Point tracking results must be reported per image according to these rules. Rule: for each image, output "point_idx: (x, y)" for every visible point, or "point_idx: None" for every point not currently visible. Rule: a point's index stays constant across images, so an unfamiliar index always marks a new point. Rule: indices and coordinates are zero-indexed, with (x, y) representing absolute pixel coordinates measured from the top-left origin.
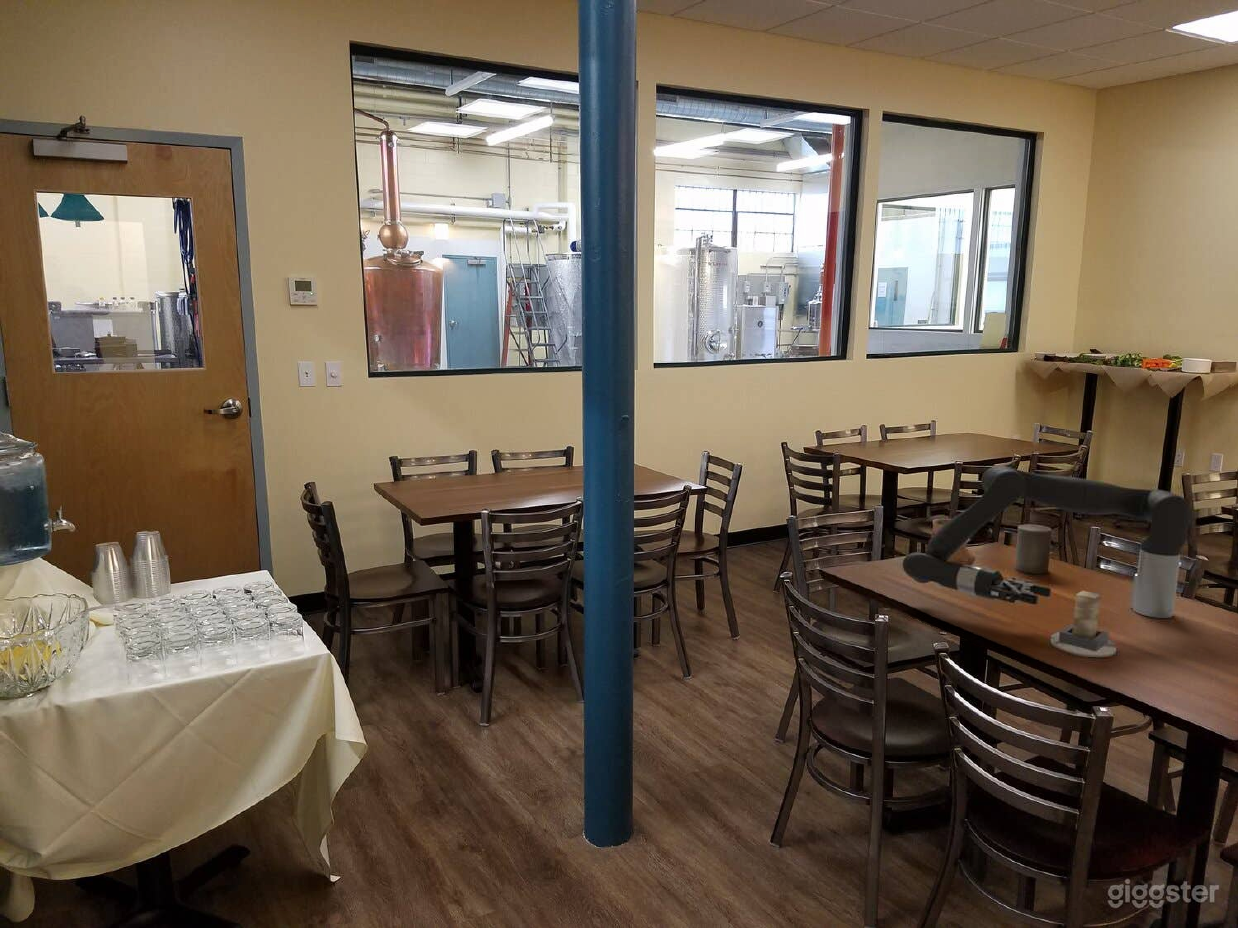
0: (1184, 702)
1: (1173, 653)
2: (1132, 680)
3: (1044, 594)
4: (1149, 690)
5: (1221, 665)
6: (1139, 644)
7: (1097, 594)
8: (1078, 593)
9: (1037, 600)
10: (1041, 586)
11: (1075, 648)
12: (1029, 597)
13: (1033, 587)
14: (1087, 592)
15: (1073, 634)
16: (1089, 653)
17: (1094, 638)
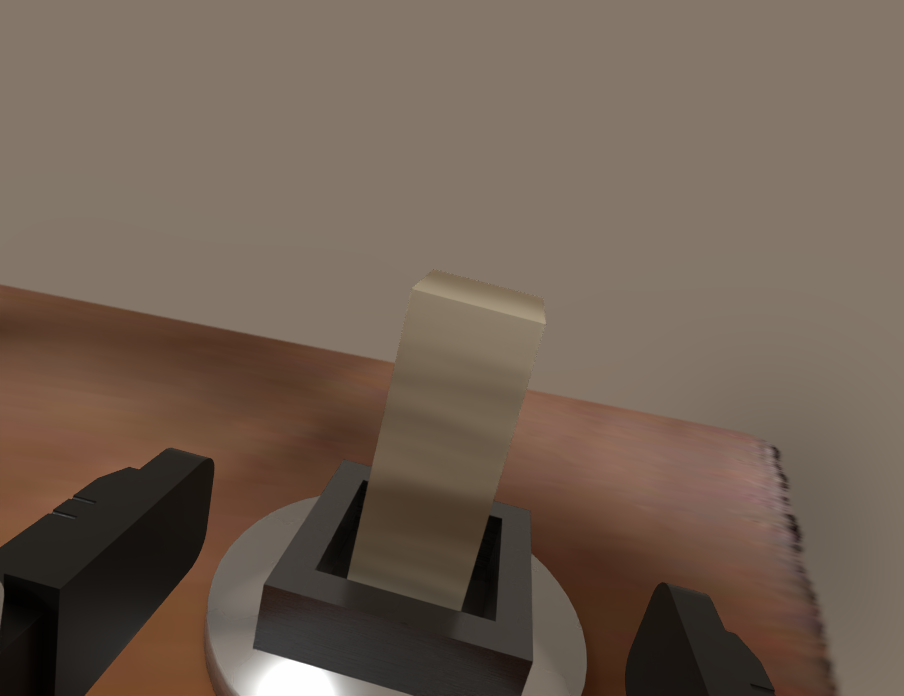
0: (675, 451)
1: (280, 396)
2: (651, 511)
3: (171, 575)
4: (682, 491)
5: (326, 354)
6: (220, 441)
7: (441, 274)
8: (509, 315)
9: (647, 628)
10: (104, 511)
11: (555, 635)
12: (765, 689)
13: (25, 651)
14: (434, 286)
15: (515, 590)
16: (556, 586)
17: (493, 515)
